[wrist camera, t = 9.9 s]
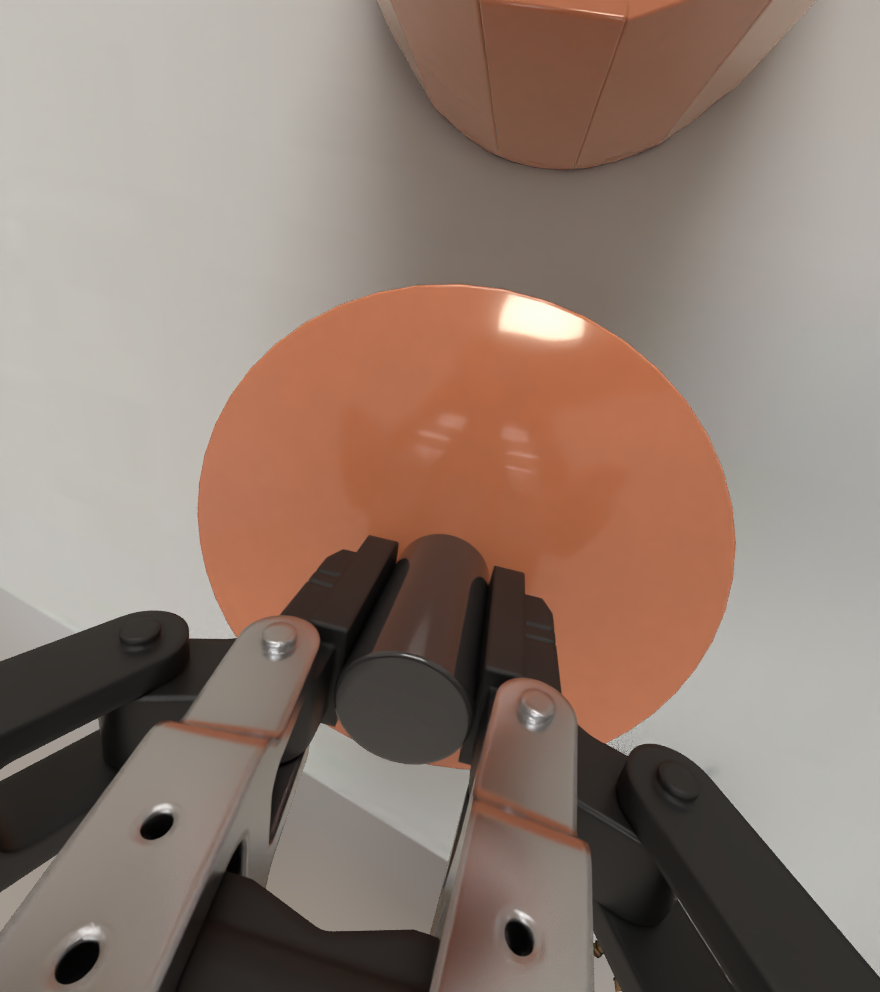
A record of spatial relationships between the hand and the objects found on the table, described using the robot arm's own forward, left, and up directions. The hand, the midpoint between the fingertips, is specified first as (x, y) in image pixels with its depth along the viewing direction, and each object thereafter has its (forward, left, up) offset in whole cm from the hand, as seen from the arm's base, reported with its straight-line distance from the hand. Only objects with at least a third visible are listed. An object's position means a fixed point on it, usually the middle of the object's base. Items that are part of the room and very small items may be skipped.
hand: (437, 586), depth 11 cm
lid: (0, 0, -1) cm, 1 cm away
